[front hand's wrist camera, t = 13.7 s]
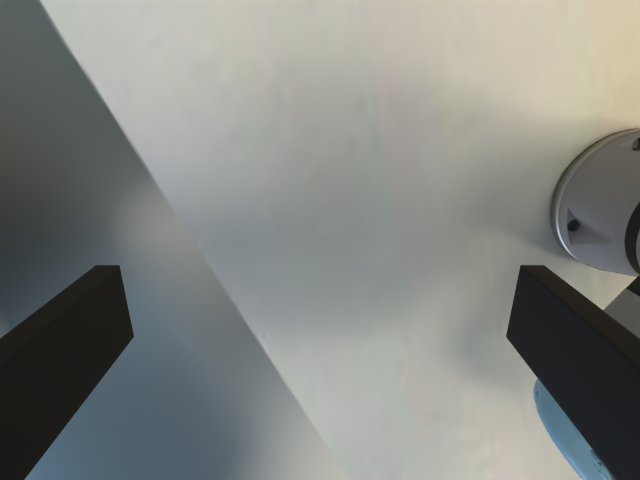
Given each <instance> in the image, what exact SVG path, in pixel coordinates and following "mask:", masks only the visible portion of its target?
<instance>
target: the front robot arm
mask: <svg viewBox="0 0 640 480" xmlns="http://www.w3.org/2000/svg"><path fill="white" fill-rule="evenodd" d="M551 224H552V229H553V233H554V235H555V237H556V239H557V241H558V243H559V244H560V246H561V247H562V248H563V249H564V250H565V251H566V252H567V253H568V254H569V255H571V256H572V257H574V258H575V259H577V260H579V261H580V262H582V263H584V264H586V265H588V266H591V267H593V268H596V269H599V270H603V271H608V272H614V273H619V274H625V275H631V276H636V277H637V278H636V279H635V280H634V281H633V282H632V283H631V284H630V285H629V286H628V287H626V288H625V289H624V290H623V291H622V292H621V293H620V294H619V295H618V296H617V297H616V298H615V299H614V300H613V301H612V302H611V303H610V304H609V305H608V306H607V307H606V308H605V309H604V310H602V309H600V308H599V307H598V306H596V305H595V304H594V303H592V302H591V301H590V300H589V299H587V298H586V297H585V296H583V295H582V294H581V293H579V292H578V291H577V290H576V289H574V288H573V287H572V286H570V285H569V284H568V283H566V282H565V281H564V280H562V279H561V278H560V277H559V276H557V275H556V274H555V273H553V272H552V271H551V270H549V269H548V268H547V267H546V266H544V265H521V266H520V271H519V276H518V281H517V286H516V291H515V296H514V301H513V306H512V310H511V315H510V320H509V325H508V330H507V335H506V337H507V338H508V340H509V341H510V342H511V344H512V345H513V346H514V348H515V349H516V350H517V351H518V353H519V354H520V355H521V357H522V358H523V359H524V361H525V362H526V363H527V365H528V366H529V367H530V368H531V370H532V371H533V372H534V374H535V375H536V376H537V378H538V379H537V381H536V383H535V386H534V399H535V403H536V407H537V411H538V414H539V416H540V418H541V421H542V423H543V425H544V426H545V428H546V430H547V432H548V433H549V435H550V437H551V438H552V440H553V442H554V443H555V445H556V446H557V448H558V449H559V450H560V452H561V453H562V455H563V456H564V457H565V459H566V460H567V461H568V463H569V464H570V465H571V466H572V468H573V469H574V470H575V471H576V473H577V474H578V475H579V476H580V477H581V478H582V479H583V480H640V129H633V130H627V131H623V132H619V133H616V134H613V135H611V136H609V137H606V138H604V139H602V140H601V141H599V142H597V143H595V144H594V145H592V146H591V147H590V148H588V149H587V150H586V151H584V152H583V153H582V154H581V155H580V156H579V157H578V158H577V159H576V160H575V161H574V162H573V163H572V164H571V165H570V167H569V168H568V169H567V171H566V172H565V173H564V175H563V177H562V178H561V180H560V182H559V184H558V186H557V188H556V191H555V194H554V197H553V201H552V206H551ZM133 337H134V335H133V330H132V325H131V320H130V315H129V310H128V306H127V301H126V296H125V291H124V286H123V281H122V276H121V271H120V266H119V265H96V266H95V267H93V268H92V269H91V270H89V271H88V272H87V273H85V274H84V275H83V276H81V277H80V278H79V279H78V280H76V281H75V282H74V283H72V284H71V285H70V286H68V287H67V288H66V289H64V290H63V291H62V292H61V293H59V294H58V295H57V296H55V297H54V298H53V299H51V300H50V301H49V302H48V303H46V304H45V305H44V306H42V307H41V308H40V309H38V310H37V311H36V312H34V313H33V314H32V315H31V316H29V317H28V318H27V319H25V320H24V321H23V322H21V323H20V324H19V325H17V326H16V327H15V328H14V329H12V330H11V331H10V332H8V333H7V334H6V335H4V336H3V337H2V338H1V339H0V480H24V479H25V478H26V477H27V475H28V474H29V473H30V471H31V470H32V469H33V468H34V466H35V465H36V464H37V462H38V461H39V460H40V459H41V457H42V456H43V455H44V453H45V452H46V451H47V449H48V448H49V447H50V445H51V444H52V443H53V441H54V440H55V439H56V438H57V436H58V435H59V434H60V432H61V431H62V430H63V428H64V427H65V426H66V425H67V423H68V422H69V421H70V419H71V418H72V417H73V415H74V414H75V413H76V412H77V410H78V409H79V408H80V406H81V405H82V404H83V402H84V401H85V400H86V398H87V397H88V396H89V395H90V393H91V392H92V391H93V389H94V388H95V387H96V385H97V384H98V383H99V381H100V380H101V379H102V378H103V376H104V375H105V374H106V372H107V371H108V370H109V368H110V367H111V366H112V364H113V363H114V362H115V361H116V359H117V358H118V357H119V355H120V354H121V353H122V351H123V350H124V349H125V348H126V346H127V345H128V344H129V342H130V341H131V340H132V338H133Z"/></svg>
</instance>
